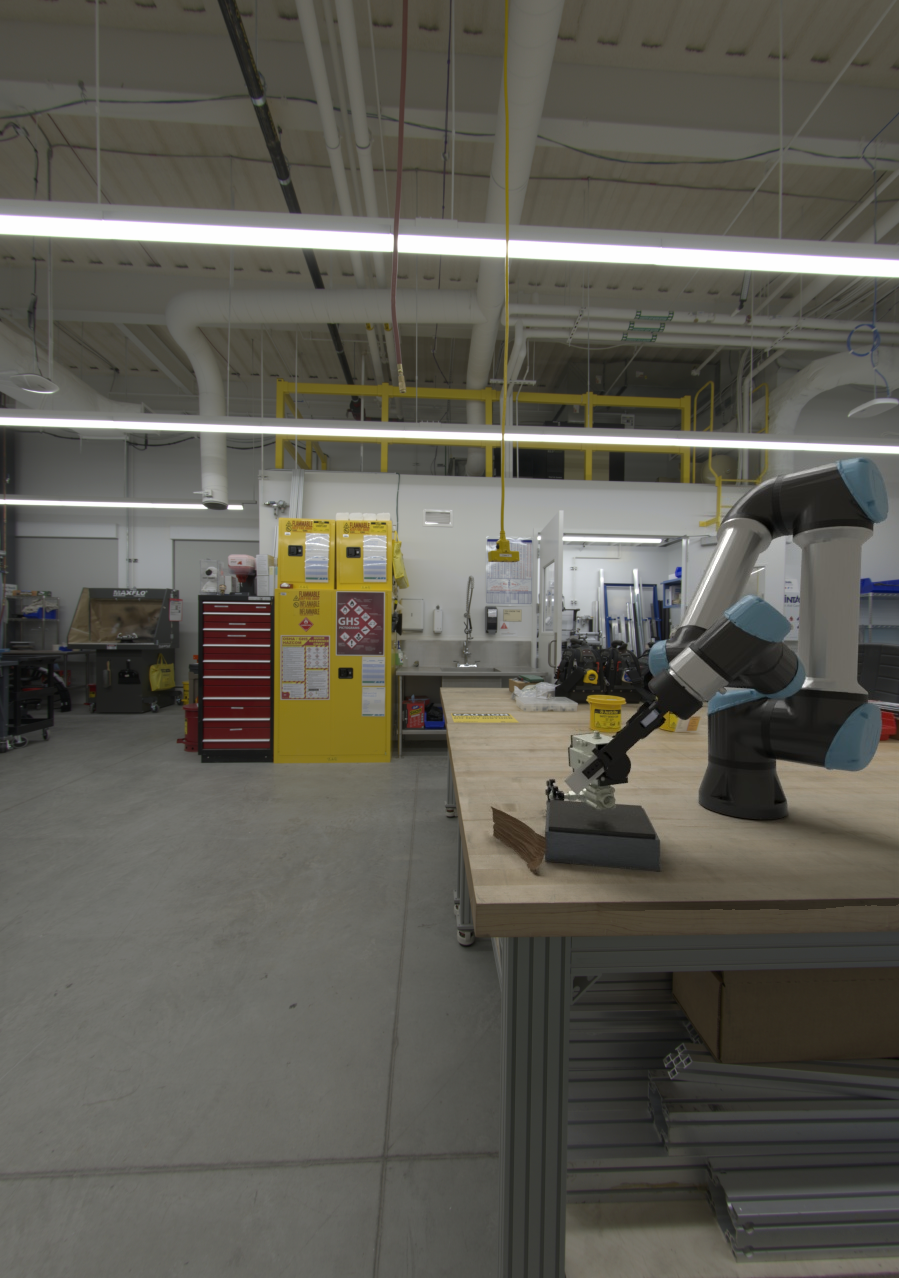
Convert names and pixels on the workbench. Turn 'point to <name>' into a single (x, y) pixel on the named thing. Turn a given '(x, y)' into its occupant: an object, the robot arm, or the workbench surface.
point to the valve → (560, 794)
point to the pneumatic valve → (601, 791)
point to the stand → (601, 836)
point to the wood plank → (519, 838)
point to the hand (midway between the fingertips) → (579, 778)
